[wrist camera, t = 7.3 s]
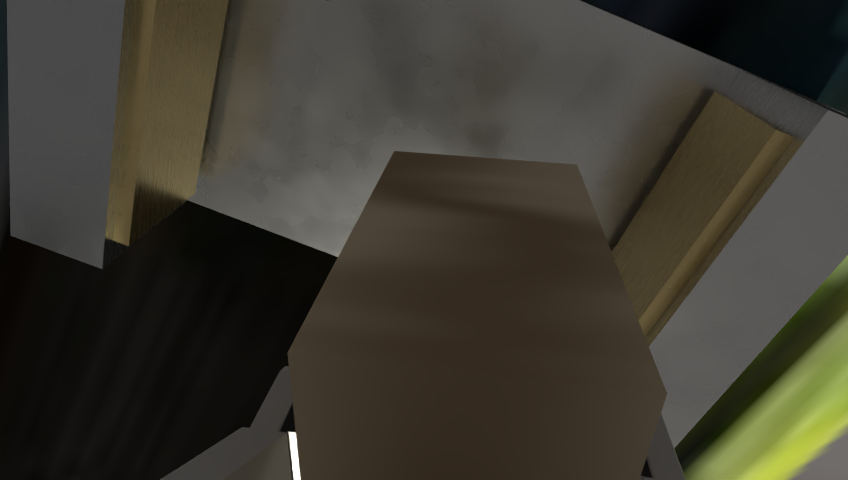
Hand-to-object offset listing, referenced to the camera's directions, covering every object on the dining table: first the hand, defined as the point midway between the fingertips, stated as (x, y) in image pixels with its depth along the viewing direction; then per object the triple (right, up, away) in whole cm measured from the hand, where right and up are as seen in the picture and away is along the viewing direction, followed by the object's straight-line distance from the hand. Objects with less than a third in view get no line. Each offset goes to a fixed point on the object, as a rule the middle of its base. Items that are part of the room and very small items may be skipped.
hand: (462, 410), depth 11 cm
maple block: (0, +2, +3) cm, 4 cm away
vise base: (-1, +9, +14) cm, 16 cm away
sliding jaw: (-11, +11, +11) cm, 19 cm away
